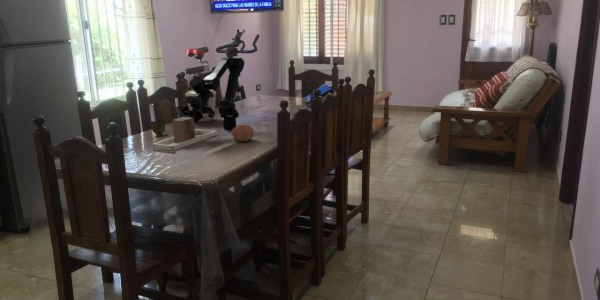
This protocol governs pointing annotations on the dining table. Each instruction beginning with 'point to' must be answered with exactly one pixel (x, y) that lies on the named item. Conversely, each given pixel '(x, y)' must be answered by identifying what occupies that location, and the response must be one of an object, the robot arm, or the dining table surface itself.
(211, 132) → the trap box
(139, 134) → the dining table surface
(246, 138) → the orange pumpkin
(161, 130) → the cup
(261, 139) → the dining table surface
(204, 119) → the canister
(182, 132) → the tan upright block
